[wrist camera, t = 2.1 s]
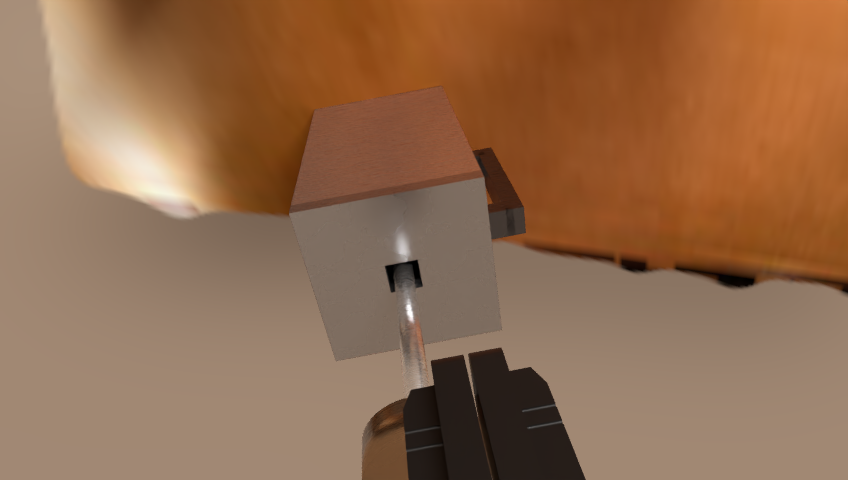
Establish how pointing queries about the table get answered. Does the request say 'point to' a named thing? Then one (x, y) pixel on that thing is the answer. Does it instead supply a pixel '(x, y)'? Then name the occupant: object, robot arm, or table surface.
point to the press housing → (400, 220)
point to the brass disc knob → (386, 428)
